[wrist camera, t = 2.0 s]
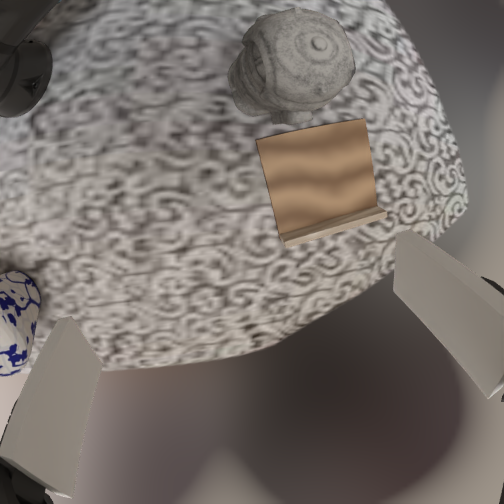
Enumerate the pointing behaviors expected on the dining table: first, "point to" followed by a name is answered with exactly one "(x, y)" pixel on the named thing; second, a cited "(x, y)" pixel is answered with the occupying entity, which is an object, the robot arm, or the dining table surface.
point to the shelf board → (320, 180)
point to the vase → (17, 320)
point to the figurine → (291, 65)
